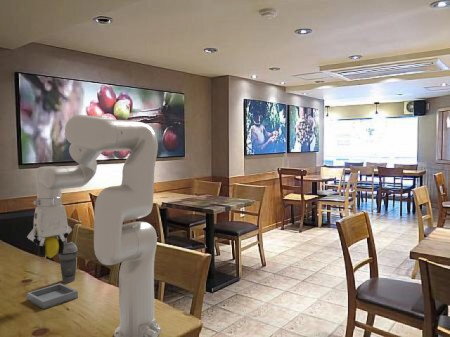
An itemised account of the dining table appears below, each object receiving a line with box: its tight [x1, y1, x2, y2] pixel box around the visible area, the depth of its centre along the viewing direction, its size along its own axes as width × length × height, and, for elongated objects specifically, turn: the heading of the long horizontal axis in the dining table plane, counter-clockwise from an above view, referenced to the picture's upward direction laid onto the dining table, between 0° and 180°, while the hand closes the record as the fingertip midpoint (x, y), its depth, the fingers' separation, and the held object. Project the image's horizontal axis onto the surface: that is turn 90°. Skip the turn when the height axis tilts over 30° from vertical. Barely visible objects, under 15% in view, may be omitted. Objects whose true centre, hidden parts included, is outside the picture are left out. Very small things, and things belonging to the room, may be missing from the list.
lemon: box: [43, 236, 59, 259], centre depth 130 cm, size 6×6×8 cm
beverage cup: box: [57, 237, 79, 283], centre depth 149 cm, size 7×7×20 cm
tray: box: [26, 282, 79, 310], centre depth 131 cm, size 12×12×2 cm
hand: (51, 254), depth 130 cm, fingers closed on lemon, 5 cm apart
